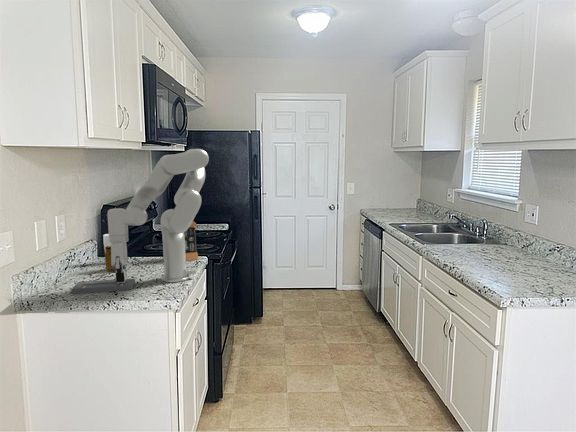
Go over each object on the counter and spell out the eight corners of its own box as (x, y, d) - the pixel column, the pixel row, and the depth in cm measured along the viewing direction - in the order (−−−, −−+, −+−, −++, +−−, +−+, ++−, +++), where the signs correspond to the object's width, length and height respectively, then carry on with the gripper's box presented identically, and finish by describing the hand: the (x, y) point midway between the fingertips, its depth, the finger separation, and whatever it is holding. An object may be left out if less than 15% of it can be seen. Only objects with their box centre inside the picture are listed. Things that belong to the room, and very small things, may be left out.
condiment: (107, 268, 207) (106, 244, 205) (125, 268, 208) (124, 244, 206) (102, 272, 200) (101, 248, 198) (121, 272, 200) (119, 247, 199)
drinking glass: (118, 264, 215) (116, 235, 213) (104, 265, 213) (102, 236, 211) (119, 260, 221) (117, 233, 219) (105, 261, 220) (103, 233, 217)
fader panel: (135, 282, 183) (134, 278, 183) (131, 289, 174) (131, 284, 173) (78, 286, 179) (78, 281, 179) (71, 293, 169) (71, 288, 169)
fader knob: (126, 279, 180) (125, 268, 179) (124, 282, 175) (123, 271, 175) (118, 280, 179) (118, 268, 178) (116, 283, 175) (116, 271, 174)
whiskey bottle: (198, 259, 223) (196, 200, 219) (179, 261, 219) (177, 201, 215) (193, 255, 233) (191, 198, 228) (175, 257, 228) (173, 199, 224)
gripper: (113, 234, 182) (116, 275, 185) (104, 242, 166) (107, 286, 168) (131, 233, 184) (133, 274, 186) (124, 241, 167) (127, 285, 170)
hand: (121, 279), depth 177 cm, fingers closed on fader knob, 4 cm apart
